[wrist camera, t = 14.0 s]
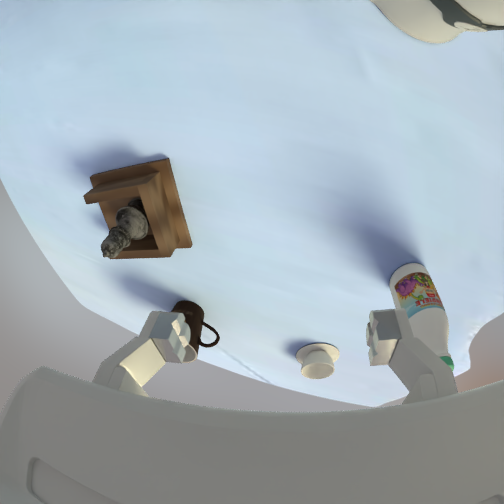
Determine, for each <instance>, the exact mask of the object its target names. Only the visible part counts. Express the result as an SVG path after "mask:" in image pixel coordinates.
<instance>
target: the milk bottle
mask: <svg viewBox="0 0 504 504" xmlns="http://www.w3.org/2000/svg"><path fill="white" fill-rule="evenodd" d="M389 286H390V290H391V294H392V297H393V300H394V304H395V307H396V309H399V308H404V309H405V310H406V313H407V316H408V319H409V322H410V325H411V329H412V332H413V335H414V338H415V337H417V338H418V339H420V340H421V341H422V342H423V343H424V344H425V345H426V346H427V347H428V348H430V349H431V350H432V351H433V352H434V353H435V354H436V355H437V356H438V357H440V358H441V359H442V360H443V361H444V362H445V363H446V364H447V365H448V366H449V367H450V368H451V369H452V371H453V369H454V364H453V361H452V359H451V355H450V354H449V353H448V335H449V324H448V318H447V315H446V312H445V309H444V307H443V304H442V302H441V300H440V297H439V295H438V293H437V290H436V288H435V286H434V284H433V282H432V279H431V277H430V275H429V273H428V271H427V270H426V268H425V267H424V266H422V265H420V264H417V263H409V264H406V265H403V266H401V267H400V268H398V269H397V270H396V271H395V272H394V273H393V275H392V277H391V279H390V284H389Z"/></svg>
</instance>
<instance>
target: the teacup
mask: <svg viewBox="0 0 504 504" xmlns="http://www.w3.org/2000/svg"><path fill="white" fill-rule="evenodd" d="M338 358H339V351H338V349H337V348H335V347H334V346H332V345H329V344H321V343H318V344H311V345H307V346H305V347H303V348H301V349H300V350H299V351H298V352H297V353H296V359H297V361H298V362H299V363H301V364H302V368H301V373H302V375H303V376H305V377H307V378H310V379H322V378H326V377H329V376H330V375H332V374H333V373H334V370H335V369H334V364H333V363H334V362H335V361H336V360H337V359H338Z"/></svg>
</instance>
